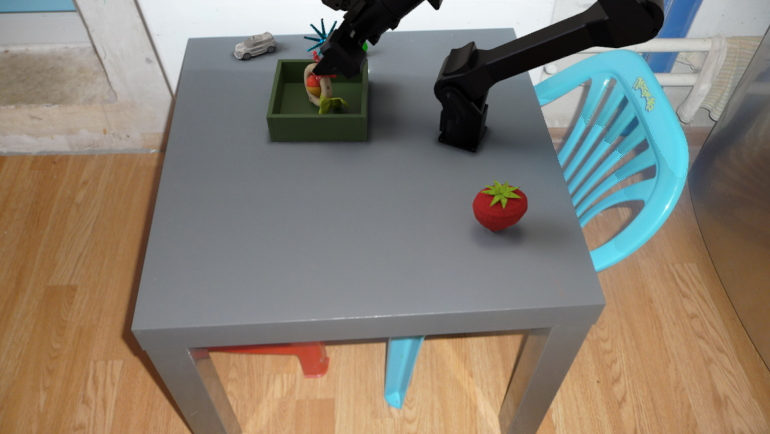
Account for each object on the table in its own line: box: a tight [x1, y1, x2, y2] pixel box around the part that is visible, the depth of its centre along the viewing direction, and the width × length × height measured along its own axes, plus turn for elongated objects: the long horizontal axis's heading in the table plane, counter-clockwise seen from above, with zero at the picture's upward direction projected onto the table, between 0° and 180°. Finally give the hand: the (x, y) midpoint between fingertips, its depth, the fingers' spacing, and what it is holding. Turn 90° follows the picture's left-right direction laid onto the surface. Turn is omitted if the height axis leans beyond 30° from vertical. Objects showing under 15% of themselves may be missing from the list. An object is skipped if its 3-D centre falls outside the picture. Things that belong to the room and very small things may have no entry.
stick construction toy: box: [303, 18, 369, 58], centre depth 110 cm, size 12×7×8 cm
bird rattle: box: [304, 50, 349, 114], centre depth 96 cm, size 6×11×9 cm
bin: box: [265, 58, 370, 142], centre depth 98 cm, size 16×16×5 cm
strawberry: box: [471, 178, 529, 233], centre depth 79 cm, size 6×8×10 cm
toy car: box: [233, 31, 278, 61], centre depth 111 cm, size 4×8×3 cm, turn 118°
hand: (324, 56), depth 92 cm, fingers open, 9 cm apart
